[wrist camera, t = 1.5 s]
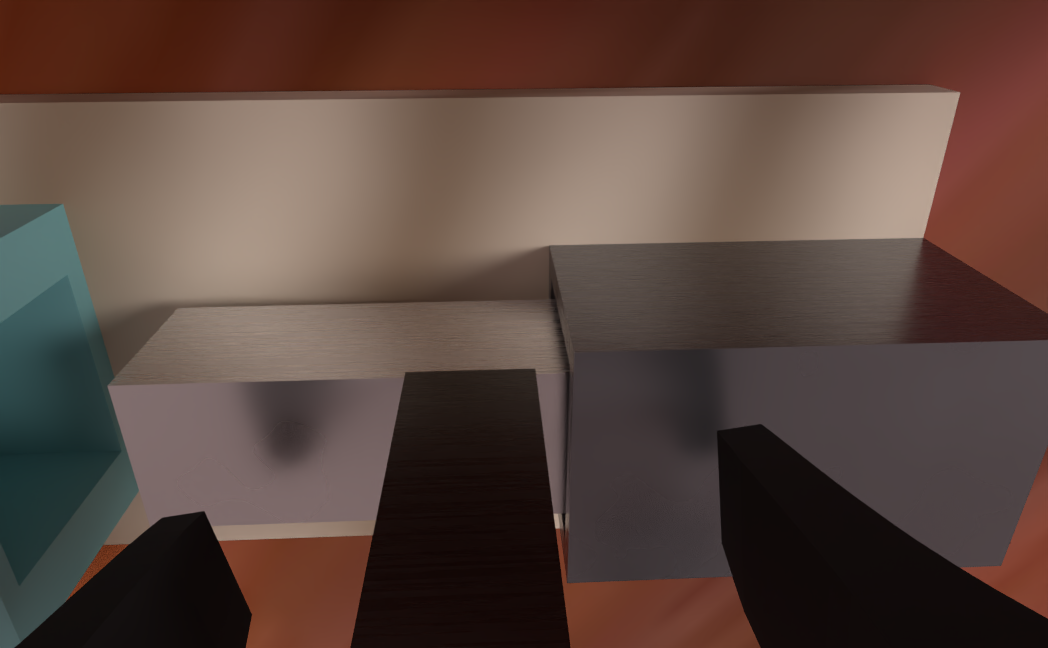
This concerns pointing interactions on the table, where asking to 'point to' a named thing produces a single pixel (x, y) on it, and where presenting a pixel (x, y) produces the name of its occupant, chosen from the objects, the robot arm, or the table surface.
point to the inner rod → (374, 450)
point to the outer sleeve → (792, 392)
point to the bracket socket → (51, 422)
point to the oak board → (443, 192)
